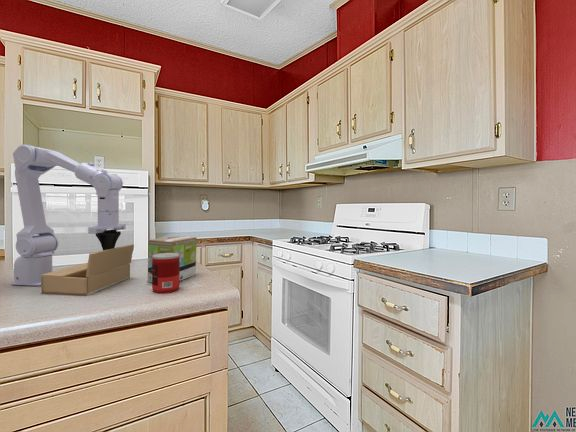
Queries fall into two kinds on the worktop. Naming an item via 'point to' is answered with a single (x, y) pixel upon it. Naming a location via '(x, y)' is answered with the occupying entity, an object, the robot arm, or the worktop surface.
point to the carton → (81, 280)
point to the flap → (109, 259)
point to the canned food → (165, 272)
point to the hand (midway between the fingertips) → (108, 254)
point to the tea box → (175, 245)
